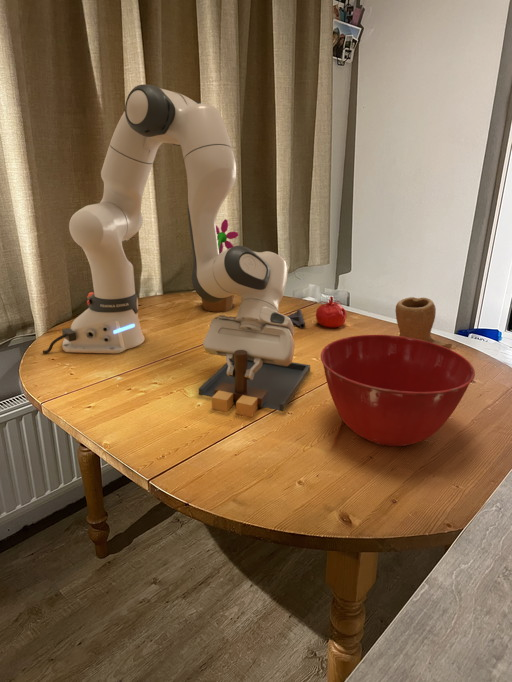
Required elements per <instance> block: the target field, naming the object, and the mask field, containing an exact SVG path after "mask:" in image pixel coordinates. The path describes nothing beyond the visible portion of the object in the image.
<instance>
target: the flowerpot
mask: <svg viewBox="0 0 512 682" xmlns="http://www.w3.org/2000/svg"><path fill="white" fill-rule="evenodd" d="M228 228H229V220H228V219H226V218H225V219H224V220H223V221H222V222H221V225H220V228H219V227H218V225H217V224H216V232H217V240H218V248H219V254H220V253H222V252H224V247H225V248H226V250H228V249H229V248H232V247H234V246H235V245H234V244H232V242H231V241H229V240H234V239H236V238H237V237H239V232H237V231H234V230H233V231H229V232H227V231H228ZM220 230H221V231H220ZM226 232H227V234H226ZM228 239H229V240H228ZM234 296H235V294H234V295H232V296H230V297H228V298H226V299H225V300H223V301H221V302H218V303H210V302H207V301H205V300H204V299H202V298H201V303H202V308H203V309H204V311H208V312H213V313H214V312H216V313H220V312H227V311H230V310H231V309H232V308H233V305H234Z"/></svg>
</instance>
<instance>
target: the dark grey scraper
mask: <svg viewBox="0 0 512 682" xmlns="http://www.w3.org/2000/svg"><path fill="white" fill-rule="evenodd" d="M286 316H287V317H289V318H290V320H291V321H292V323H293V325H296V326H297V327H299V328H300V329H305V328H306V324H305V320H304V319H305V318H304V316H303V313H302V309H297V310H296V311H295V312H293V313H291V314H289V315H286Z"/></svg>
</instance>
